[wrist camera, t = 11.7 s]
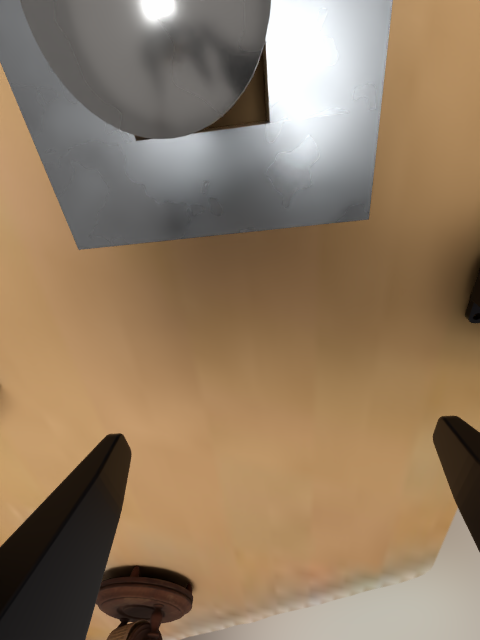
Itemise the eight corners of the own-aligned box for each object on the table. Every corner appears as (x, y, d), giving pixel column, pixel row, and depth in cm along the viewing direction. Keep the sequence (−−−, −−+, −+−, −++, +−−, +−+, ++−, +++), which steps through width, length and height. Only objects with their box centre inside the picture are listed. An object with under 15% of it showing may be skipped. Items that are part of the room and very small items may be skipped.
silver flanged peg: (254, -45, 12) (261, -280, 5) (264, 116, 15) (278, 124, 8) (123, -22, 13) (-54, -203, 5) (157, 130, 15) (73, 151, 8)
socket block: (389, -290, 9) (440, -436, 7) (351, 202, 17) (368, 219, 14) (-49, -186, 10) (-142, -278, 8) (102, 230, 18) (78, 249, 16)
